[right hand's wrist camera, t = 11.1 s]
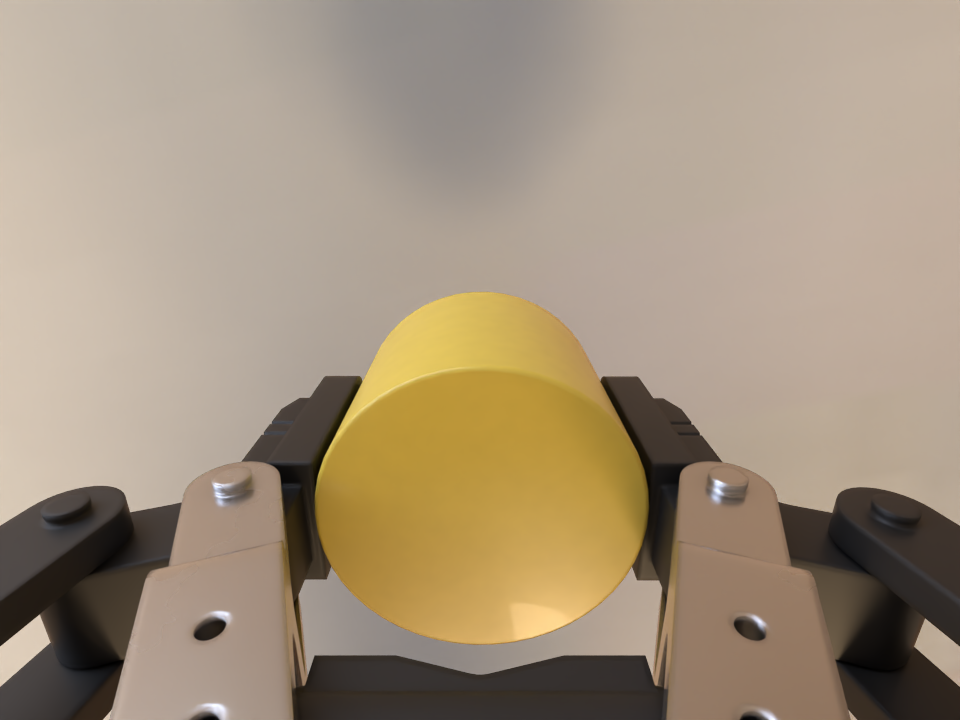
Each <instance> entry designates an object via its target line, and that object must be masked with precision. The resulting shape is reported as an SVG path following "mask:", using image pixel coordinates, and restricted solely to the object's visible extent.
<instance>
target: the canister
mask: <svg viewBox="0 0 960 720" xmlns="http://www.w3.org/2000/svg"><path fill="white" fill-rule="evenodd" d="M648 514H649V492H648V485H647V480H646V475H645V470H644V468H643V465H642V463H641V460H640V457H639V455H638V452H637V450H636V448H635V447H634V445H633V443H632V441H631V439H630V437H629V435H628V433H627V431H626V429H625V427H624V426H623V424H622V422H621V420H620V418H619V416H618V414H617V412H616V410H615V408H614V407H613V405H612V403H611V401H610V399H609V397H608V395H607V393H606V391H605V389H604V387H603V386H602V384H601V382H600V380H599V378H598V376H597V374H596V372H595V370H594V368H593V366H592V365H591V363H590V361H589V359H588V357H587V355H586V353H585V351H584V350H583V348H582V346H581V344H580V343H579V341H578V340H577V339H576V337H575V336H574V335H573V333H572V332H571V331H570V330H569V329H568V328H567V327H566V326H565V325H564V324H563V323H562V322H561V321H560V320H559V319H558V318H556V317H555V316H554V315H552V314H551V313H549V312H548V311H547V310H545V309H543V308H541V307H539V306H538V305H536V304H534V303H532V302H529V301H526V300H524V299H521V298H519V297H515V296H510V295H506V294H501V293H492V292H469V293H462V294H456V295H452V296H448V297H445V298H441V299H438V300H436V301H434V302H431V303H429V304H427V305H425V306H423V307H421V308H420V309H418V310H416V311H415V312H413V313H411V314H410V315H409V316H408V317H406V318H405V319H404V320H403V321H401V322H400V323H399V324H398V325H397V326H396V327H395V328H394V329H393V331H392V332H391V333H390V334H389V335H388V337H387V338H386V339H385V341H384V342H383V344H382V345H381V347H380V349H379V351H378V353H377V355H376V357H375V358H374V360H373V362H372V364H371V366H370V368H369V370H368V372H367V374H366V376H365V378H364V380H363V382H362V384H361V386H360V388H359V390H358V392H357V394H356V396H355V398H354V400H353V402H352V404H351V406H350V408H349V409H348V411H347V413H346V415H345V417H344V419H343V421H342V423H341V425H340V427H339V429H338V431H337V433H336V435H335V437H334V439H333V441H332V443H331V445H330V447H329V449H328V451H327V453H326V455H325V457H324V459H323V462H322V465H321V468H320V471H319V474H318V478H317V484H316V490H315V517H316V524H317V530H318V534H319V538H320V541H321V544H322V547H323V550H324V552H325V554H326V556H327V558H328V560H329V562H330V565H331V567H332V568H333V569H334V571H335V572H336V574H337V575H338V577H339V578H340V580H341V581H342V582H343V584H344V585H345V586H346V587H347V588H348V589H349V590H350V591H351V593H352V594H353V595H354V596H355V597H356V598H358V599H359V600H360V601H361V602H362V603H363V604H364V605H366V606H367V607H368V608H369V609H371V610H372V611H374V612H375V613H377V614H378V615H379V616H381V617H382V618H384V619H386V620H388V621H390V622H392V623H393V624H395V625H397V626H399V627H401V628H404V629H406V630H409V631H411V632H414V633H416V634H419V635H422V636H426V637H429V638H433V639H436V640H442V641H447V642H453V643H462V644H474V645H481V644H502V643H510V642H517V641H521V640H526V639H531V638H534V637H538V636H541V635H544V634H547V633H550V632H553V631H555V630H557V629H559V628H562V627H564V626H566V625H568V624H570V623H572V622H574V621H575V620H577V619H579V618H581V617H582V616H584V615H586V614H587V613H588V612H590V611H591V610H592V609H594V608H595V607H596V606H598V605H599V604H600V603H602V602H603V601H604V600H605V599H606V598H607V597H608V596H609V595H610V594H611V593H612V592H613V591H614V590H615V589H616V588H617V586H618V585H619V584H620V583H621V582H622V580H623V579H624V578H625V577H626V575H627V573H628V572H629V570H630V568H631V567H632V565H633V564H634V562H635V560H636V558H637V555H638V553H639V551H640V549H641V546H642V543H643V540H644V536H645V532H646V529H647V523H648Z"/></svg>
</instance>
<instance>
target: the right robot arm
mask: <svg viewBox="0 0 960 720" xmlns="http://www.w3.org/2000/svg"><path fill="white" fill-rule="evenodd" d="M600 382H601V384H602V386H603V387H604V389H605V391H606V393H607V395H608V397H609V399H610V401H611V403H612V405H613V407H614V408H615V410H616V412H617V414H618V416H619V418H620V420H621V422H622V424H623V426H624V427H625V429H626V431H627V433H628V435H629V437H630V439H631V441H632V443H633V445H634V447H635V448H636V450H637V452H638V455H639V457H640V460H641V463H642V465H643V468H644V470H645V475H646V480H647V485H648V492H649V514H648V523H647V529H646V532H645V536H644V540H643V543H642V546H641V549H640V551H639V553H638V555H637V558H636V560H635V562H634V564H633V565H632V567H633V570H634V573H635V576H636V578H637V580H659V581H660V583H661V586H662V593H661V600H660V606H659V615H658V625H657V635H656V646H655V656H654V666H653V676H652V675H651V671H650V668H649V665H648V662H647V659H646V656H560V657H556V658H552V659H548V660H544V661H540V662H536V663H532V664H528V665H523V666H519V667H515V668H511V669H507V670H503V671H499V672H495V673H491V674H485V675H475V674H469V673H465V672H461V671H457V670H453V669H449V668H445V667H441V666H437V665H432V664H428V663H424V662H420V661H416V660H412V659H408V658H404V657H400V656H314V659H313V662H312V665H311V668H310V671H309V675H308V676H307V666H306V656H305V646H304V635H303V625H302V615H301V606H300V600H299V592H300V590H301V588H302V585H303V583H304V580H305V579H327V577H328V574H329V571H330V568H331V565H330V562H329V560H328V558H327V556H326V554H325V552H324V550H323V547H322V544H321V541H320V538H319V534H318V530H317V524H316V517H315V490H316V484H317V478H318V474H319V471H320V468H321V465H322V462H323V459H324V457H325V455H326V453H327V451H328V449H329V447H330V445H331V443H332V441H333V439H334V437H335V435H336V433H337V431H338V429H339V427H340V425H341V423H342V421H343V419H344V417H345V415H346V413H347V411H348V409H349V408H350V406H351V404H352V402H353V400H354V398H355V396H356V394H357V392H358V390H359V388H360V386H361V384H362V379H361V377H360V376H325V377H324V378H323V380H322V381H321V383H320V384H319V386H318V387H317V389H316V390H315V391H314V393H313V394H312V396H311V397H310V398H299V399H298V400H296V401H294V402H293V403H291V404H289V405H288V406H286V407H284V408H283V409H281V411H280V412H279V413H278V415H277V416H276V417H275V418H274V420H273V421H272V424H270V425H269V426H268V428H267V429H266V430H265V432H264V435H261V437H260V438H259V439H258V441H257V442H256V443H255V445H254V446H253V447H252V448H251V450H250V451H249V452H248V454H247V455H246V456H245V458H244V459H243V460H242V462H238V463H232V464H227V465H224V466H221V467H218V468H215V469H212V470H210V471H208V472H206V473H204V474H202V475H201V476H199V477H198V478H196V479H195V480H194V481H193V482H192V483H191V484H190V485H189V486H188V487H187V488H186V490H185V492H184V495H183V500H182V503H177V504H173V505H168V506H163V507H157V508H152V509H147V510H141V511H136V512H131V513H130V511H129V508H128V504H127V500H126V497H125V495H124V493H123V492H122V491H121V490H119V489H117V488H114V487H109V486H92V487H84V488H79V489H74V490H71V491H67V492H64V493H61V494H58V495H55V496H52V497H50V498H47V499H45V500H43V501H41V502H39V503H37V504H35V505H34V506H32V507H30V508H28V509H27V510H25V511H24V512H22V513H20V514H19V515H17V516H15V517H14V518H12V519H11V520H9V521H7V522H6V523H4V524H2V525H1V526H0V646H1V645H2V644H4V643H5V642H6V641H7V640H9V639H10V638H11V637H12V636H13V635H15V634H16V633H17V632H18V631H20V630H21V629H22V628H23V627H25V626H26V625H27V624H28V623H29V622H31V621H32V620H33V619H34V618H36V617H37V616H38V615H39V614H40V616H41V619H42V621H43V624H44V626H45V629H46V632H47V634H48V637H49V639H50V642H51V643H50V644H49V645H47V646H46V647H45V648H44V649H43V650H42V651H41V652H40V653H38V654H37V655H36V656H35V657H34V658H33V659H32V660H30V661H29V662H28V663H27V664H26V665H25V666H24V667H22V668H21V669H20V670H19V671H18V672H17V673H16V674H15V675H13V676H12V677H11V678H10V679H9V680H8V681H7V682H5V683H4V684H3V685H2V686H1V687H0V720H103V719H104V718H105V716H106V715H107V714H108V713H109V712H110V711H111V710H112V711H111V715H110V719H109V720H851V719H850V715H849V711H850V712H851V713H852V714H853V715H854V716H855V718H856V719H857V720H960V687H959V686H958V685H957V684H956V683H955V682H953V681H952V680H951V679H950V678H949V677H948V676H947V675H945V674H944V673H943V672H942V671H941V670H940V669H939V668H938V667H936V666H935V665H934V664H933V663H932V662H931V661H930V660H928V659H927V658H926V657H925V656H924V655H923V654H922V653H920V652H919V651H918V650H917V649H916V648H915V647H914V645H915V642H916V640H917V637H918V635H919V632H920V630H921V627H922V625H923V622H924V620H925V618H926V619H927V620H928V621H929V622H931V623H932V624H933V625H934V626H935V627H937V628H938V629H939V630H940V631H942V632H943V633H944V634H945V635H947V636H948V637H949V638H950V639H951V640H953V641H954V642H955V643H956V644H958V645H959V646H960V526H959V525H958V524H956V523H954V522H953V521H951V520H949V519H948V518H946V517H945V516H943V515H941V514H940V513H938V512H936V511H935V510H933V509H931V508H930V507H928V506H926V505H924V504H922V503H920V502H918V501H916V500H914V499H911V498H909V497H906V496H903V495H900V494H897V493H894V492H890V491H886V490H881V489H876V488H864V487H858V488H850V489H846V490H844V491H842V492H841V493H839V494H838V496H837V499H836V502H835V506H834V509H833V513H829V512H824V511H819V510H813V509H808V508H803V507H797V506H792V505H788V504H783V503H780V502H778V500H777V495H776V492H775V490H774V488H773V487H772V486H771V485H770V484H769V483H768V482H767V481H766V480H765V479H764V478H762V477H761V476H759V475H758V474H756V473H754V472H752V471H750V470H748V469H745V468H742V467H739V466H736V465H733V464H728V463H723V462H722V461H721V460H720V458H719V457H718V456H717V455H716V453H715V452H714V451H713V449H712V448H711V447H710V446H709V444H708V443H707V442H706V440H705V439H704V438H703V437H702V436H700V433H699V431H698V430H697V429H696V428H695V426H694V425H691V421H690V420H689V419H688V417H687V416H686V415H685V413H684V412H683V411H682V410H681V409H680V408H678V407H677V406H675V405H673V404H672V403H670V402H668V401H666V400H665V399H663V398H653V397H652V396H651V394H650V393H649V392H648V390H647V389H646V387H645V386H644V384H643V383H642V382H641V380H640V379H639V378H638V377H602V379H601V381H600ZM848 710H849V711H848Z"/></svg>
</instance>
